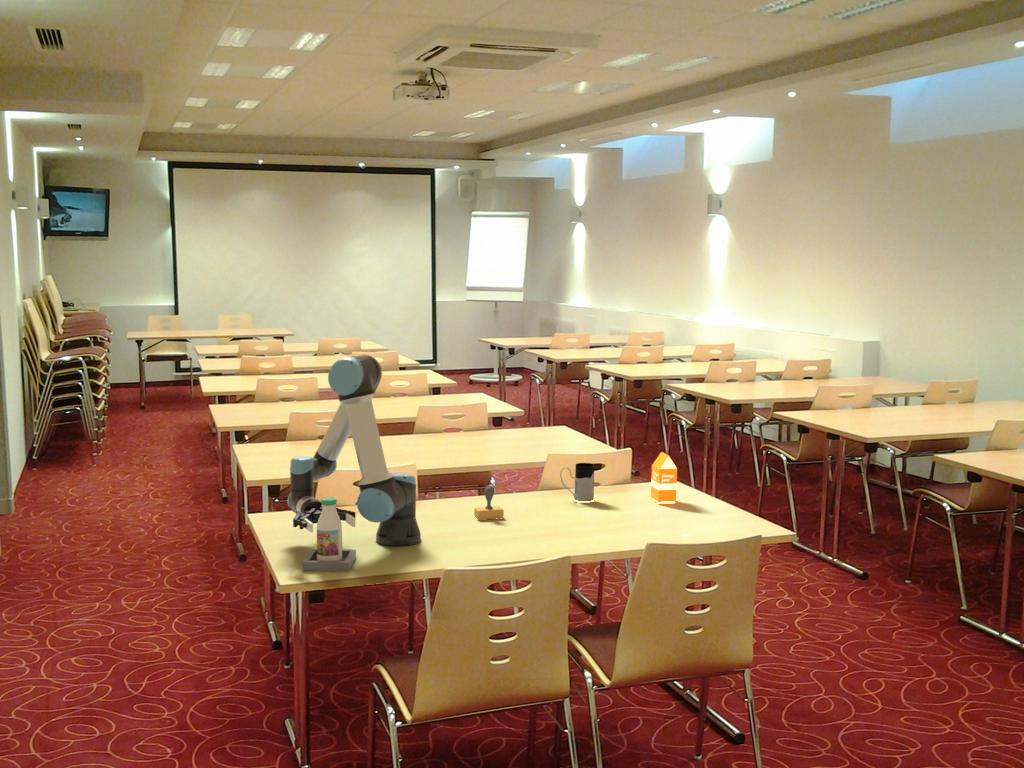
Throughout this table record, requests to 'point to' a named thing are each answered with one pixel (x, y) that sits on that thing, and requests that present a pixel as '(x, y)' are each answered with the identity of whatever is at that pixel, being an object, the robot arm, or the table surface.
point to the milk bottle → (329, 532)
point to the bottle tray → (329, 562)
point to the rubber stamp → (488, 508)
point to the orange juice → (664, 479)
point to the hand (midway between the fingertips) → (333, 525)
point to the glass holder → (583, 482)
